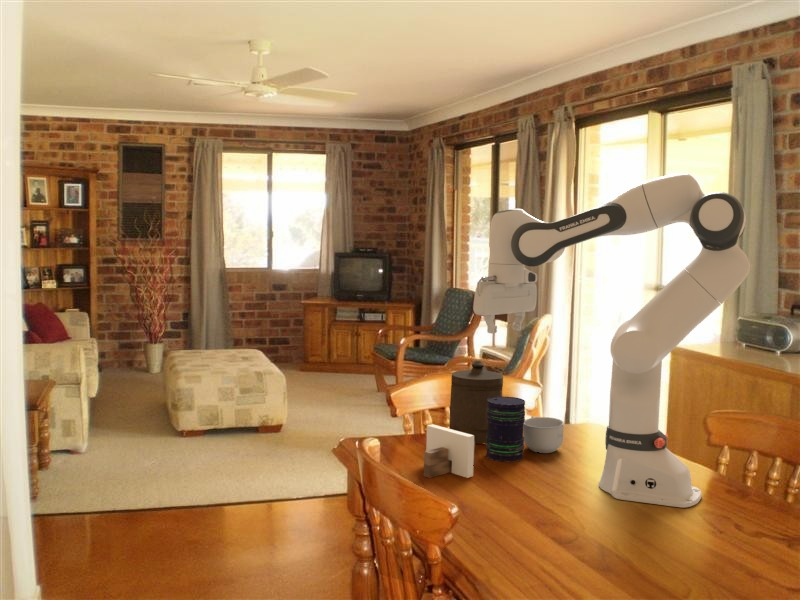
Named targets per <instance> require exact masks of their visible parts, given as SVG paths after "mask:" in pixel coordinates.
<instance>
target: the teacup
mask: <svg viewBox="0 0 800 600" xmlns="http://www.w3.org/2000/svg"><path fill="white" fill-rule="evenodd" d="M564 424H565V421H563V420H562V419H559V418H555V417H548V416H546V417H545V416H537V415H536V416H535V415H533V416H531V417H530V418H526V419H525V421H524V423H523V437H524V445H526V447H527V448H529V450H531V451H532V452H534V453H537V452H539V454H550V453H554V452H556V451H557V450H558V449H559V448H560V447H561V446H562V445H563V442H564Z"/></svg>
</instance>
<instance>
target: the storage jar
mask: <svg viewBox="0 0 800 600" xmlns="http://www.w3.org/2000/svg"><path fill="white" fill-rule="evenodd" d="M525 405H526V400H524V399H523V398H519V397H513V396H503V395H502V396H501V397H491V398H489V399H488V406H487V408H488V409H487V421H488V434H487V435H486V444H485V447H486V448H485V450H486V453H485V457H486V456H487V457H488V458H490V459H489V460H491V459H493V460H492V461H494V460H497V461H496V462H499V461H516V462H518V461H517V460H520V461H522V460H523V459H522V458H524V449H525V441H524V430H523V423H524V421H525V420H526V419H525V416H526V407H525ZM487 457H486V458H487ZM488 458H487V459H488ZM521 459H522V460H521Z"/></svg>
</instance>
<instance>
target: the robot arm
mask: <svg viewBox="0 0 800 600" xmlns="http://www.w3.org/2000/svg"><path fill="white" fill-rule="evenodd" d="M676 223H686V224H688V225H689V226H690V228H691V229H692V231H693V233H694V235H695V236H696V237H697V239H698V240H699V242H700V244H701V251H700V252H699V253H698V255H697V256H696V257H695V258H694V259H693V261H691V262H690V263H689V264H688V265H686V267H684V268H683V269H682V270H681V271H680V272H679V273H678V274H677V275H676V276H675V277H674V278H672V280H670V282H668V283H666V285H664V287H663V288H662V289H661V290H660V291H658V292H657V293H656V294H655V295H654V296H653V297H652V298H651V299H650V300H649V301H648V302H647V303H646V304H645V305H644V306H643V307H642V308H640V310H639V311H638V312H637V313H636V314H634V316H632V317H631V318H630V319H629V320H626V321H625V322H623V323H622V324H621V325H620V326H619V327H618V328H617V330H616V331H615V333H614V335H613V337H612V339H611V342H610V355H611V357H612V365H611V366H612V368H611V379H610V381H611V382H610V391H609V410H608V411H609V413H608V425H607V426H606V431H605V450H606V453H605V458H604V459H605V460H604V465H603V470H602V474H601V476H600V479H599V483H598V486H599V488H600V489H601V490H602V491H604V492H606V493H608V494H610V495H611V496H612V498H614V499H617V500H623V501H629V502H630V501H631V502H637V503H645V504H653V505H659V506H668V507H675V508H684V509H685V508H690V507H693V506H695V505H698V503H699V502H700V501H701V500H702V490H701V489H700V488H698V487H697V486H693V485H692V475H691V472H690V468H689V466H687V465H686V464H685V463H684V462H683V461H682V460H680V459H679V458H678V457H677V456H676V455H675V454H674V453H673V452H672V451H671V450H670V449H668V447H667V444H668V439H669V438H668V434H669V433H665V434H664V433H663V432H662V431H660V429H659V425H660V424H659V423H660V402H661V384H662V381H661V380H662V367H663V365H662V364H663V360H664V359H665V358H666V357H667V356H668V355H669V354H670V353H671V352H672V351H674V349H676V347H678V345H679V344H680V343H682V341H683V340H684V339H685V338H686V337H687V336H688V335H689V334H690V333H691V332H692V331H693V330H694V329H695V328H696V327H697V326H699V325H700V324H701V323H702V322H703V321H705V319H707V318H708V317H709V316H710V315H711V314H712V313H713V312H714V311H715V310H717V309H718V308H719V307H720V306H721V305H722V304H723V303H725V301H727V300H728V299H729V298H730V297H731V295H733V293H735V291H736V290H737V289H738V288H739V287H740V286H741V284H742V283H743V282H744V281H745V280H746V279H747V277H748V275H749V274H750V271H751V263H750V260H749V257H748V256H747V254H746V253H745V252H744V250H742V249H741V248H740V246H739V242H738V241H739V239H740V238H741V237H742V235H743V233H744V231H745V228H746V223H747V217H746V212H745V210H744V207H743V206H742V203H741V202H740V201H739V200H738V198H737V197H735V196H734V195H732V194H730V193H728V192H724V191H723V192H722V191H713V192H710V193H707V194H705V193H704V192H703V191H702V189H701V187H700V184H699V183H698V181H697V179H696V178H694V176H692V175H691V174H689V173H686V172H679V173H671V174H667V175H664V176H659V177H656V178H652V179H648V180H646V181H643V182H639V183H637V184H635V185H633V186H630V187H629V188H627V189H624V190H622V191H621V192H618V193H617V194H615V195H613V196H612V197H610V198H609V199H607V200H605V201H603V202H601V203H600V204H598V205H596V206H594V207H593V208H590V209H589V210H585V211H583V212H579V213H577V214H574V215H571V216H568V217H565V218H562V219H559V220H557V221H553V222H552V221H551V222H546V221H542V220H540V219H537V218H535V217H534V216H532V215H530V214H529V213H527V212H526V211H525V210H524V209H523V208H509V209H503V210H500V211H497V212H496V213H494V215H493V216H492V218H491V222H490V229H489V237H488V238H489V240H488V242H489V243H488V245H489V250H490V252H489V253H490V254H489V255H490V256H489V260H488V274H487V276H482V277H480V279H479V280H478V281H477V283H476V287H475V292H474V296H473V306H472V307H473V308H472V309H473V313H474V314H475V315H476V316H483V317H484V322H485V324H486V326H487V327H486V328H487V329H486V331H487V333H488V334H496V333H497V332H498V331H497V330H498V325H495V322H494V320H495V317H496V315H497V316H498V315H506V314H507V315H509V314H514V316H515V319H514V322H512V324H511V325H512V326H511V329H512V330H513V331H521V330H522V323H523V321H524V319H525V317H526V312H527V313H528V312H534V311H535V308H536V307H537V302H538V301H537V298H538V293H537V292H538V289H537V284H536V283H537V282H538V278H539V277H538V273H535V272H534V271H531V270H529V269H527V268H526V267H538V266H541V265H544V264H549V263H552V262H554V261H556V260H558V259H559V258H560V257H561V256H562V255H563V253H564V251H565V249H566V248H568V247H571V246H574V245H577V244H580V243H583V242H586V241H589V240H591V239H595V238H599V237H606V236H630V235H631V236H632V235H637V234H642V233H648V232H651V231H654V230H657V229H661V228H663V227H666V226H669V225H672V224H676Z"/></svg>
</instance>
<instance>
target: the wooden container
mask: <svg viewBox="0 0 800 600" xmlns="http://www.w3.org/2000/svg"><path fill="white" fill-rule="evenodd" d="M471 367H472V368H471V369H466V370H464V369H463V370H457V371H453V372H452V373H451V386H450V402H449V403H450V404H449V428H448V429H452V430H456V431H459V432H463V433H467V434H471V435H474V442H475V445H482V444H481V443H486V435H487V434H488V421H487V409H488V408H487V406H488V399H489V398H491V397H501V396H503V386H504V375H503V374H502V373H500V372H496V371H492V370H484V367H485V364H484V362H482V360H474V361H473V362H472V364H471Z"/></svg>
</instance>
